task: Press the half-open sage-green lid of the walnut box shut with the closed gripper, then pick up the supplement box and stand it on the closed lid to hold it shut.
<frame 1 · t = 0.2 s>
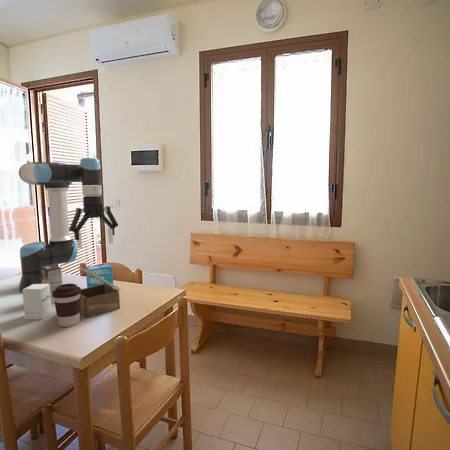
hand: (96, 245, 140), 27 cm above the table, tool pointing down, fingers open, 13 cm apart
coffee box: (53, 300, 152), on the table
data package: (100, 290, 166), on the table
lid: (99, 278, 140), point 13 cm above the table, hinge at 40.0°
coffee cup: (69, 323, 126), on the table
box: (97, 308, 141), on the table
supplement box: (39, 316, 134), on the table
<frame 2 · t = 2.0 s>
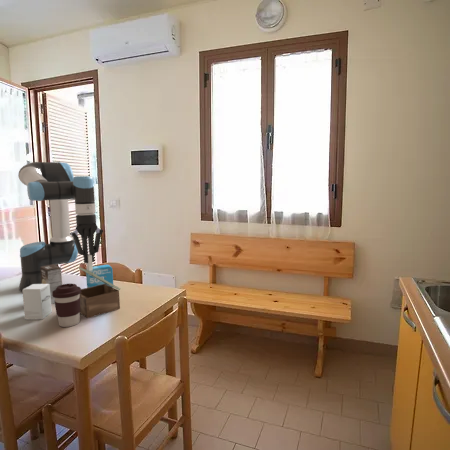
hand: (89, 270, 137), 18 cm above the table, tool pointing down, fingers closed
lid: (99, 278, 140), point 13 cm above the table, hinge at 39.6°, touching gripper
everything else where it was.
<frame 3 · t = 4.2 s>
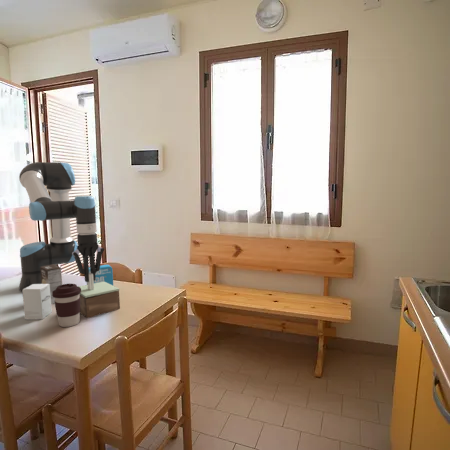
hand: (90, 288, 138), 10 cm above the table, tool pointing down, fingers closed
lid: (95, 289, 139), point 9 cm above the table, hinge at 2.1°, touching gripper
everything else where it was.
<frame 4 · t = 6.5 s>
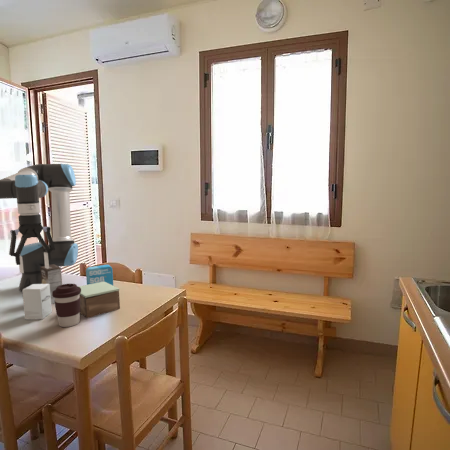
hand: (34, 270, 131), 19 cm above the table, tool pointing down, fingers open, 8 cm apart
lid: (95, 289, 139), point 9 cm above the table, hinge at 2.1°
everything else where it was.
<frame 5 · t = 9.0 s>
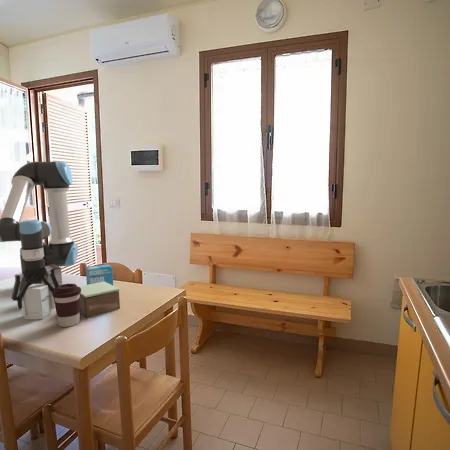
hand: (38, 311, 134), 2 cm above the table, tool pointing down, fingers closed on supplement box, 10 cm apart
supplement box: (39, 316, 134), on the table, touching gripper
everything else where it was.
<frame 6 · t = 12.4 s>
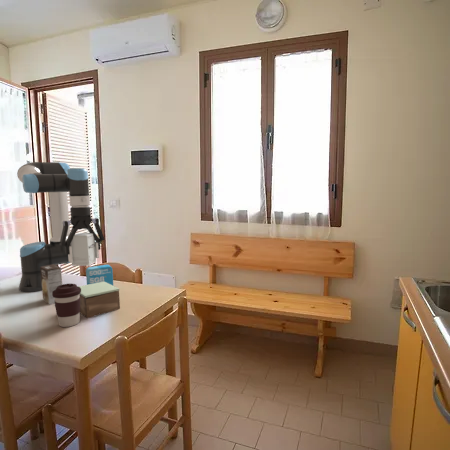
hand: (84, 259, 136), 22 cm above the table, tool pointing down, fingers closed on supplement box, 10 cm apart
supplement box: (84, 264, 137), point 20 cm above the table, touching gripper
everything else where it was.
when the fingers open (12 cm above the table, at t = 15.6 s): supplement box drops 1 cm, resting on lid.
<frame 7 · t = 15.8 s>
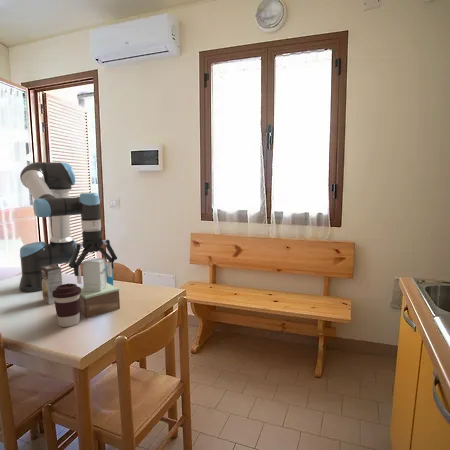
hand: (95, 279, 139), 13 cm above the table, tool pointing down, fingers open, 12 cm apart
lid: (95, 289, 139), point 9 cm above the table, hinge at 0.4°, touching supplement box
supplement box: (95, 288, 140), point 9 cm above the table, touching lid
everything else where it was.
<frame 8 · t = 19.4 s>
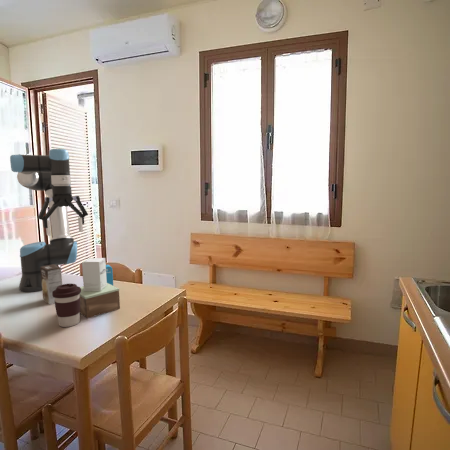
hand: (65, 233, 145), 32 cm above the table, tool pointing down, fingers open, 13 cm apart
lid: (95, 289, 139), point 9 cm above the table, hinge at 0.0°, touching supplement box
everything else where it was.
at the end: lid at +0° (first picture: +40°); supplement box inside the target area on the box (0.0 cm from its centre), point 8.8 cm above the box's base; supplement box tilted 0° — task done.
